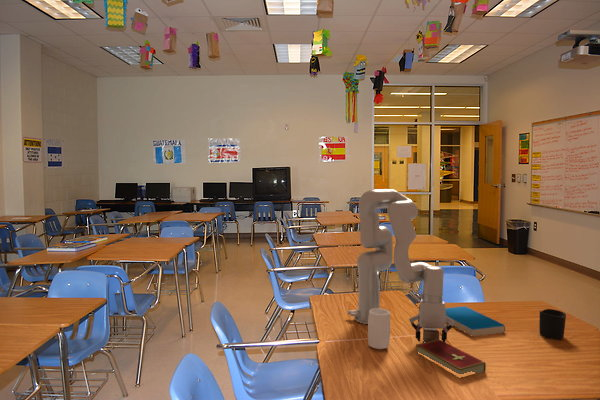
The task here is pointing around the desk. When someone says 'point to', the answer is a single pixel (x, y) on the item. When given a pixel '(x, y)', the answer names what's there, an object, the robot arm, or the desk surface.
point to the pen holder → (552, 324)
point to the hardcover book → (451, 357)
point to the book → (473, 321)
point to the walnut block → (430, 334)
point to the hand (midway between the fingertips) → (430, 340)
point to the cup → (379, 328)
